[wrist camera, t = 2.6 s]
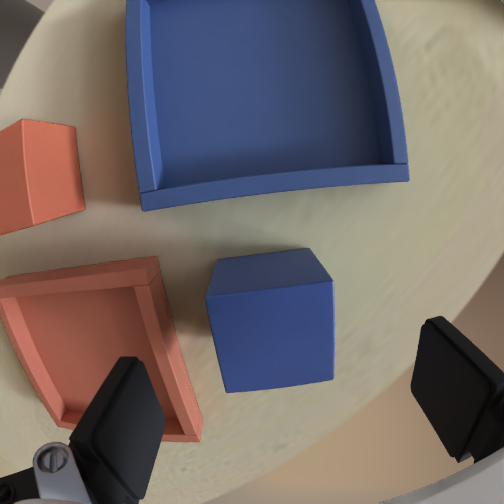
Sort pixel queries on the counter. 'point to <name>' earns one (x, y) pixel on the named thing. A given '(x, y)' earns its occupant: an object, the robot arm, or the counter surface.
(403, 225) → the counter surface
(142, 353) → the terracotta tray
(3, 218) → the terracotta block
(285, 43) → the blue tray
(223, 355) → the blue block
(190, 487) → the counter surface
